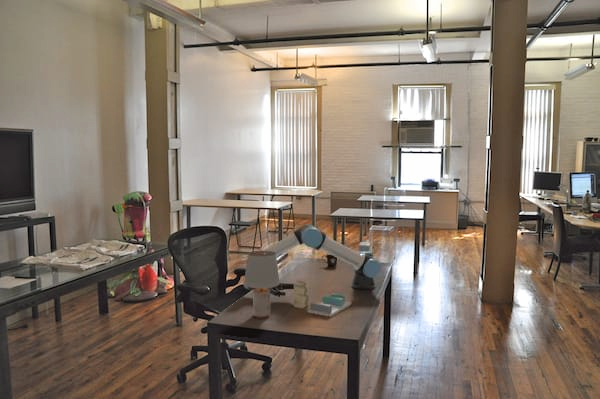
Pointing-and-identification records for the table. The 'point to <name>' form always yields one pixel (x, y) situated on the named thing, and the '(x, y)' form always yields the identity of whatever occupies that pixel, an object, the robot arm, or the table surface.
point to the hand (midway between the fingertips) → (297, 291)
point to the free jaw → (334, 299)
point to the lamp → (261, 279)
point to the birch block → (301, 293)
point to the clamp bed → (334, 309)
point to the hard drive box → (364, 246)
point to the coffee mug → (331, 260)
